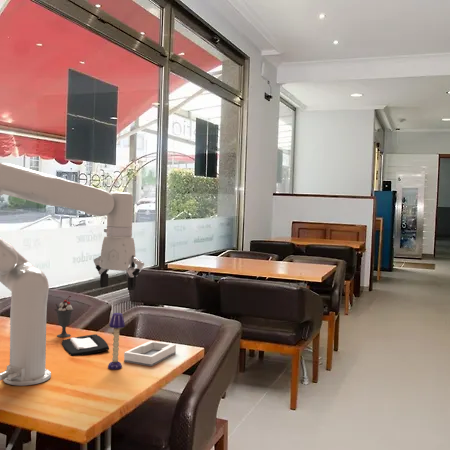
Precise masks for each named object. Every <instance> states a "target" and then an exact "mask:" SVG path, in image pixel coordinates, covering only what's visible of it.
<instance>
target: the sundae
mask: <svg viewBox="0 0 450 450" xmlns="http://www.w3.org/2000/svg"><path fill="white" fill-rule="evenodd" d="M71 297H72V296H71V295H69V296H68V297H67V298H66V299H64V300H63V301H62V302H60V303H59V305H58V303H55V306H56V308H54V311H55V312H56V315H57V321H58V325H59V326H60V327H61V333H59V334H57V335H56V338H62V339H63V338H64V339H65V338H71V333H70V334H69V333H67V332H66V328H67V326H69V324H71V323H70V322H71V317H72V312H73V311H74V310H75V309H74V308H73V307H72V305H71V302H70V301H69V300H70V298H71Z"/></svg>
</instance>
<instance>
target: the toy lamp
mask: <svg viewBox="0 0 450 450" xmlns="http://www.w3.org/2000/svg"><path fill="white" fill-rule="evenodd" d="M125 325H126V324H125V319H124V315H123V313H121V312H114V313H112V316H111V318H110V321H109V328H113V338H112V339H113V340H112V341H113V343H112V346H113V347H112V360H111V361H110V362H109V363H108V365H107V368H108V369H109V370H121V369H122V368H123V365H122V363H121V362H120V361H119V350H120V349H119V347H120V342H119V341H120V329H123V328H125Z"/></svg>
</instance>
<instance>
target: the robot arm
mask: <svg viewBox="0 0 450 450" xmlns="http://www.w3.org/2000/svg"><path fill="white" fill-rule="evenodd" d="M3 195H5V196H9V197H13V198H17V199H21V200H25V201H30V202H33V203H37V204H40V205H45V206H50V207H58V208H59V207H60V208H65V209H66V208H67V209H71V210H76V211H79V212H83V213H85V214H86V215H89V216H94V217H95V216H97V217H104V216H107V218H106V220H107V221H106V227H104V229H103V232H104V233H106V236H104V237H103V241H102V244H101V251H100V256H97V257H96V258H94V259H93V263H94V265H95V269H96V270H97V271H98V275H100V279H99V280H100V281H99V283H100V288H107V287H109V274H108V273H109V271H120V272H126V273H127V274H128V277H127V291H128V292H129V291H134V290H135V289H136V286H137V277H138V275H139V274H141V272H142V270H143V268H144V266H145V263H144V262H143V261H141V260H140V259H138V258H137V257H136V247H135V245H136V244H135V240H134V237H133V208H134V196H133V194H132V193H130V192H124V191H112V192H109V191H107V190H104V189H101V188H98V187H94V186H91V185H88V184H83V183H80V182H76V181H71V180H68V179H65V178H62V177H59V176H55V175H52V174H47V173H44V172H41V171H37V170H33V169H30V168H25V167H24V166H23V167H22V166H20V165H15V164H12V163H8V162H0V197H1V196H3ZM0 283H1V284H2V285H3V286H5V287H6V288H7V289H8V290H9V291H11V298H10V299H11V300H10V313H9V315H10V316H9V317H10V318H9V320H10V321H9V328H10V329H9V331H10V332H9V365H6V369H5V370H4V371H2V372H0V381H2V380H3V382H4V383H5V384H7V385H10V386H21V387H22V386H31V385H32V386H33V385H38V384H41V383H44V382H46V381H48V380H50V378H51V377H52V372H51V370H49V369H47V368H46V358H47V357H46V355H47V352H46V351H47V311H48V309H47V307H48V300H49V299H48V297H49V291H50V290H49V289H50V288H49V281H48V277H47V276H46V275H45V272H43V271H42V270H41V269H39V268H37V266H34V265H33V264H32V263H31V262H30V261H28V260H27V259H26V258H25V257H24V256H23V255H22V254H21V253H19V251H17V250H16V248H15V247H14V246H13V245H12V244H11V243H9V242H8V241H6V240H5V239H4V238H3V237H1V236H0Z"/></svg>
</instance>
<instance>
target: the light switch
mask: <svg viewBox="0 0 450 450" xmlns="http://www.w3.org/2000/svg"><path fill="white" fill-rule="evenodd" d="M61 345H62V347H63V350H65V352H66V353H68V355H69V356H71V357H77V356H78V357H79V356H87V355H91V354H97V353H100V352H104V351H108V350H110V347H109V344H108V343H107V341H106V340H105V339H104V338H103V337H102V336H100V335H98V334H89V335H81V336H77V337H75V336H74V337H69V338H66V339H65V338H64V339H62V341H61Z"/></svg>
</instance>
